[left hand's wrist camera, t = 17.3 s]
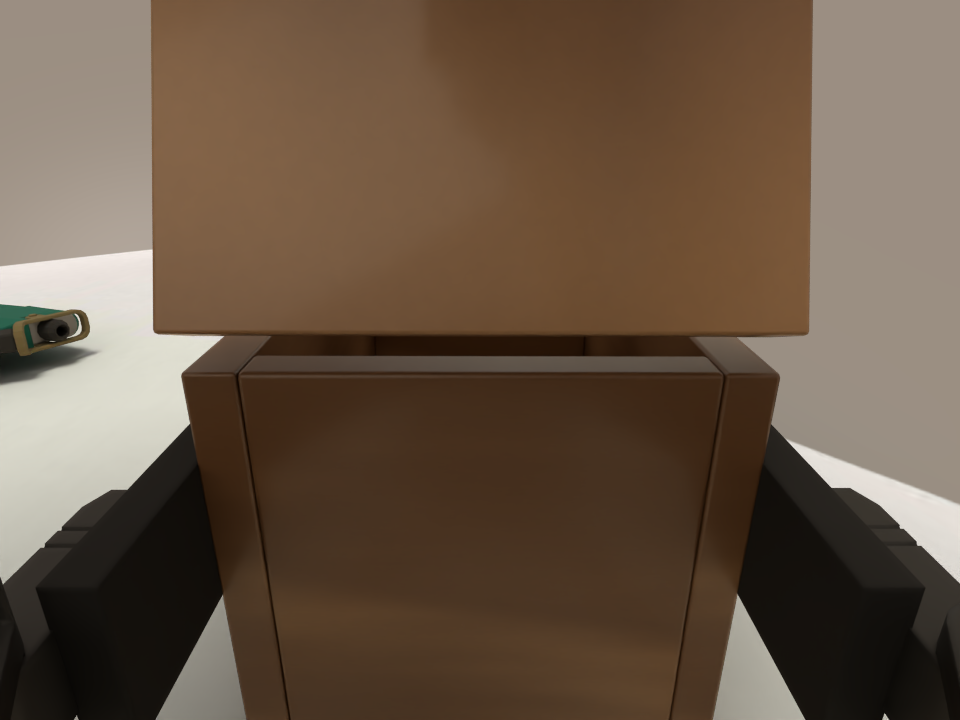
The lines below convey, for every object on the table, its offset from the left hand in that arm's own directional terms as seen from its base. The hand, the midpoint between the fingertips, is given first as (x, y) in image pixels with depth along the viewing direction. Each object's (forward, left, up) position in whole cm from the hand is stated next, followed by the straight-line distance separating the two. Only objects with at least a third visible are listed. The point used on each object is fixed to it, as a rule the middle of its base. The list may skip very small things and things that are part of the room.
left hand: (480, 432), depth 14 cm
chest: (+2, -2, -7) cm, 8 cm away
